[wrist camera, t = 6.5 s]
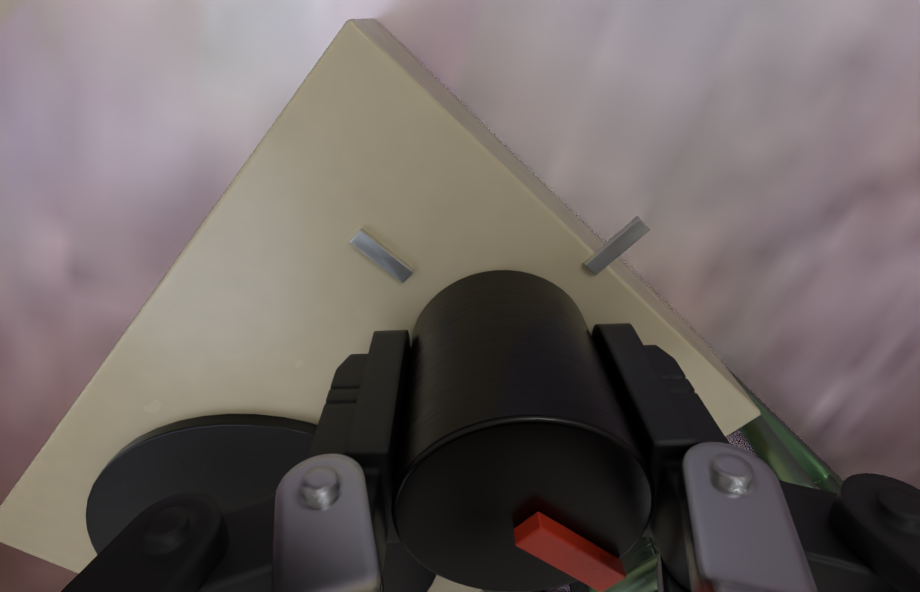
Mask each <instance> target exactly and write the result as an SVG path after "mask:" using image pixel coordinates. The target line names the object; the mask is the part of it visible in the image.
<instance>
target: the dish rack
mask: <svg viewBox="0 0 920 592" xmlns="http://www.w3.org/2000/svg"><path fill="white" fill-rule="evenodd" d="M726 368H727V367H726ZM727 369H728V368H727ZM728 370H729V369H728ZM729 372H730V373H731V374H732V375H733V377H734V378H735V379H736V381H737V382H738V383H739V384H740V386H741V387H742V388H743V390H744V391H745V392H746V393H747V395H748V396H749V397H750V399H751V400H752V401H753V402H754V404H755V405H756V406H757V408H758V409H759V410H760V413H761V414H760V416H758V417H757V418H755V419H753V420H752V421H750V422H749V423H747V424H745V425H744V426H742V427H741V428H739V430H740V431H741V433H742V434H743V435H744V437H745V438H746V440H747V441H748V443H749V444H750V446H751V447H752V448H753V450H754V451H755V453H756V454H757V456H758V457H759V458H760V459H761V460H762V461H764V462H765V463H766V464H767V465H768V466H769V467H770V468H771V469H772V470H773V472H774V473H775V475H776V476H777V478H778V479H779V480H781V481H785V482H788V483H792V484H797V485H801V486H806V487H810V488H815V489H820V490H824V491H829V492H833V493H838V492H839V490H840V488H841V486H842V484H843V482H844V481H843V480H842V479H841V478H840V477H839V476H838V475H837V474H835V473H834V472H833V471H832V470H831V469H830V468H829V467H828V466H827V465H826V464H825V463H824V462H823V461H822V460H821V459H820V458H819V457H818V456H817V455H816V454H815V453H814V452H813V451H812V450H811V449H810V448H809V447H808V446H807V445H806V444H805V443H804V442H803V441H802V440H801V439H800V438H799V437H798V436H796V435H795V434H794V433H793V432H792V431H791V430H790V429H789V428H788V427H787V426H786V425H785V424H784V423H783V422H782V421H781V420H780V419H779V418H778V417H777V416H776V415H775V414H774V413H773V412H772V411H771V410H770V409H769V408H768V407H767V406H766V405H765V404H764V403H763V402H762V401H761V400H760V399H759V398H757V397H756V396H755V395H754V394H753V393H752V392H751V391H750V390H749V389H748V388H747V387H746V386H745V385H744V384H743V383H742V382H741V381H740V380H739V379H738V378H737V377H736V376H735V375H734V374H733V373H732V372H731V371H730V370H729ZM658 555H659V553H657V554H656V555H654V556H652V557H650V558H649V559H647V560H645V561H643V562H642V563H640V564H638V565H636V566H634V567H633V568H631V569H629V570H627V571H626V572H625V573H626V578H624V579H623V580H621V581H619V582H618V583H616V584H614V585H613V586H611V587H609V588H608V589H606V590H604V591H603V592H654V591H656V590H657V577H656V563H657V559H658ZM588 587H589V592H599V591H598V590H596V589H594V588H592V587H590V586H588ZM482 591H484V592H500V591H490V590H482ZM527 592H544V591H542V590H538V591H527Z"/></svg>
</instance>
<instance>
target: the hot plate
mask: <svg viewBox="0 0 920 592" xmlns="http://www.w3.org/2000/svg"><path fill="white" fill-rule="evenodd" d="M649 230H650V229H649V228H648V227H647V226H646V225H645V223H644V222H643V221H642V220H641V219H640V218H639V217H638V216H636V217H635V218H634V219H633V220H632V221H631V222H629V223H628V224H627V225H626V226H625V227H624V228H622V229H621V230H620V231H619V232H618V233H617V234H616V235H614V236H613V237H612V238H611V239H610V240H609V241H608V242H606V243H604V242H603V241H602V240H601V239H600V238H599V237H598V236H597V235H596V234H595V233H594V232H593V231H592V230H591V229H590V228H589V227H588V226H587V225H585V224H584V223H583V222H582V221H581V220H580V219H579V218H578V217H577V216H576V215H575V214H574V213H573V212H572V211H571V210H570V209H569V208H568V207H567V206H566V205H565V204H564V203H563V202H562V201H561V200H560V199H559V198H558V197H557V196H556V195H555V194H554V193H553V192H552V191H551V190H550V189H549V188H548V187H547V186H546V185H545V184H544V183H543V182H542V181H541V180H540V179H539V178H538V177H537V176H535V175H534V174H533V173H532V172H531V171H530V170H529V169H528V168H527V167H526V166H525V165H524V164H523V163H522V162H521V161H520V160H519V159H518V158H517V157H516V156H515V155H514V154H513V153H512V152H511V151H510V150H509V149H508V148H507V147H506V146H505V145H504V144H503V143H502V142H501V141H500V140H499V139H498V138H497V137H496V136H495V135H494V134H493V133H492V132H491V131H490V130H489V129H488V128H486V127H485V126H484V125H483V124H482V123H481V122H480V121H479V120H478V119H477V118H476V117H475V116H474V115H473V114H472V113H471V112H470V111H469V110H468V109H467V108H466V107H465V106H464V105H463V104H462V103H461V102H460V101H459V100H458V99H457V98H456V97H455V96H454V95H453V94H452V93H451V92H450V91H449V90H448V89H447V88H446V87H445V86H444V85H443V84H442V83H441V82H440V81H439V80H438V79H436V78H435V77H434V76H433V75H432V74H431V73H430V72H429V71H428V70H427V69H426V68H425V67H424V66H423V65H422V64H421V63H420V62H419V61H418V60H417V59H416V58H415V57H414V56H413V55H412V54H411V53H410V52H409V51H408V50H407V49H406V48H405V47H404V46H403V45H402V44H401V43H400V42H399V41H398V40H397V39H396V38H395V37H394V36H393V35H392V34H391V33H390V32H389V31H388V30H386V29H385V28H384V27H383V26H382V25H381V24H380V23H379V22H378V21H377V20H376V19H374V18H371V19H350V20H348V21H346V23H345V24H344V25H343V27H342V28H341V30H340V31H339V32H338V34H337V35H336V37H335V38H334V39H333V41H332V42H331V44H330V45H329V46H328V48H327V49H326V51H325V52H324V53H323V55H322V56H321V58H320V59H319V60H318V62H317V63H316V65H315V66H314V67H313V69H312V70H311V72H310V73H309V74H308V76H307V77H306V79H305V80H304V81H303V83H302V84H301V86H300V87H299V88H298V90H297V91H296V93H295V94H294V95H293V97H292V98H291V100H290V101H289V102H288V104H287V105H286V107H285V108H284V109H283V111H282V112H281V114H280V115H279V116H278V118H277V119H276V121H275V122H274V123H273V125H272V126H271V128H270V129H269V130H268V132H267V133H266V135H265V136H264V137H263V139H262V140H261V142H260V143H259V144H258V146H257V147H256V149H255V150H254V151H253V153H252V154H251V156H250V157H249V158H248V160H247V161H246V163H245V164H244V165H243V167H242V168H241V170H240V171H239V172H238V174H237V175H236V177H235V178H234V179H233V181H232V182H231V184H230V185H229V186H228V188H227V189H226V191H225V192H224V193H223V195H222V196H221V198H220V199H219V200H218V202H217V203H216V205H215V206H214V207H213V209H212V210H211V212H210V213H209V214H208V216H207V217H206V219H205V220H204V221H203V223H202V224H201V226H200V227H199V228H198V230H197V231H196V233H195V234H194V235H193V237H192V238H191V240H190V241H189V242H188V244H187V245H186V247H185V248H184V249H183V251H182V252H181V254H180V255H179V256H178V258H177V259H176V261H175V262H174V263H173V265H172V266H171V268H170V269H169V270H168V272H167V273H166V275H165V276H164V277H163V279H162V280H161V282H160V283H159V284H158V286H157V287H156V289H155V290H154V291H153V293H152V294H151V296H150V297H149V298H148V300H147V301H146V303H145V304H144V305H143V307H142V308H141V310H140V311H139V312H138V314H137V315H136V317H135V318H134V319H133V321H132V322H131V324H130V325H129V326H128V328H127V329H126V331H125V332H124V333H123V335H122V336H121V338H120V339H119V340H118V342H117V343H116V345H115V346H114V347H113V349H112V350H111V352H110V353H109V354H108V356H107V357H106V359H105V360H104V361H103V363H102V364H101V366H100V367H99V368H98V370H97V371H96V373H95V374H94V375H93V377H92V378H91V380H90V381H89V382H88V384H87V385H86V387H85V388H84V389H83V391H82V392H81V394H80V395H79V396H78V398H77V399H76V401H75V402H74V403H73V405H72V406H71V408H70V409H69V410H68V412H67V413H66V415H65V416H64V417H63V419H62V420H61V422H60V423H59V424H58V426H57V427H56V429H55V430H54V431H53V433H52V434H51V436H50V437H49V438H48V440H47V441H46V443H45V444H44V445H43V447H42V448H41V450H40V451H39V452H38V454H37V455H36V457H35V458H34V459H33V461H32V462H31V464H30V465H29V466H28V468H27V469H26V471H25V472H24V473H23V475H22V476H21V478H20V479H19V480H18V482H17V483H16V485H15V486H14V487H13V489H12V490H11V492H10V493H9V494H8V496H7V497H6V499H5V500H4V501H3V503H2V504H1V506H0V542H1V543H4V544H6V545H8V546H11V547H13V548H16V549H18V550H21V551H23V552H26V553H28V554H31V555H33V556H36V557H38V558H41V559H43V560H46V561H48V562H51V563H53V564H56V565H58V566H61V567H63V568H66V569H68V570H71V571H73V572H76V573H78V574H79V573H80V572H81V571H82V570H83V569H84V568H85V567H86V566H87V565H88V564H89V563H90V562H91V561H92V560H93V559H94V558H95V557H96V556H97V553H96V551H95V550H94V548H93V546H92V544H91V541H90V537H89V534H88V531H87V525H86V507H87V499H88V496H89V494H90V491H91V488H92V485H93V483H94V482H95V480H96V479H97V477H98V476H99V474H100V473H101V471H102V470H103V469H104V467H105V466H106V465H107V463H108V462H109V461H110V460H111V459H112V458H113V457H114V456H115V455H116V454H117V453H118V452H119V451H120V450H121V449H122V448H123V447H125V446H126V445H128V444H129V443H131V442H132V441H134V440H135V439H136V438H138V437H140V436H142V435H144V434H146V433H148V432H150V431H152V430H154V429H156V428H159V427H162V426H165V425H168V424H171V423H174V422H177V421H180V420H185V419H190V418H195V417H200V416H208V415H219V414H261V415H270V416H280V417H286V418H291V419H296V420H300V421H305V422H310V423H313V424H316V425H318V422H319V419H320V416H321V413H322V410H323V407H324V404H326V398H327V395H328V392H329V390H330V389H331V383H332V380H333V377H334V374H335V371H336V369H337V368H338V367H339V366H340V365H341V364H342V363H343V362H344V361H345V359H346V358H347V357H348V356H349V355H350V354H368V353H369V349H370V345H371V341H372V337H373V333H374V331H384V330H408V332H409V339H410V349H411V343H412V336H413V332H414V328H415V325H416V322H417V320H418V318H419V316H420V314H421V313H422V311H423V309H424V308H425V307H426V305H427V304H428V303H429V302H430V300H431V299H432V298H434V297H435V296H436V295H437V294H438V293H439V292H440V291H442V290H443V289H444V288H446V287H447V286H449V285H450V284H452V283H454V282H456V281H458V280H460V279H462V278H465V277H467V276H470V275H473V274H477V273H480V272H486V271H493V270H513V271H521V272H526V273H530V274H533V275H536V276H539V277H542V278H544V279H546V280H548V281H550V282H552V283H554V284H555V285H557V286H558V287H560V288H561V289H562V290H564V291H565V292H566V293H567V294H568V295H569V296H570V297H571V298H572V300H573V301H574V302H575V303H576V305H577V306H578V308H579V310H580V311H581V313H582V315H583V318H584V320H585V322H586V325H587V327H588V329H589V331H590V334H591V336H592V330H593V327H594V325H595V324H614V323H630V324H631V325H632V326H633V328H634V329H635V331H636V333H637V335H638V336H639V338H640V340H641V341H642V343H643V345H657V346H658V347H660V348H661V349H662V350H664V351H665V352H666V353H668V354H669V355H670V356H672V357H673V358H674V359H675V360H676V361H677V363H678V364H679V366H680V368H681V369H682V371H683V372H684V374H685V375H686V379H688V380H689V381H690V383H691V385H692V386H693V388H694V389H695V393H697V394H698V395H699V397H700V398H701V400H702V402H703V403H704V405H705V406H706V408H707V409H708V411H709V412H710V414H711V415H712V417H713V419H714V420H715V422H716V423H717V425H718V426H719V428H720V429H721V431H722V432H723V434H724V436H725V437H726V436H728V435H730V434H731V433H733V432H734V431H736V430H738V429H739V428H741V427H742V426H744V425H745V424H747V423H749V422H750V421H752V420H753V419H755V418H757V417H758V416H760V414H761V413H760V410H759V409H758V408H757V406H756V405H755V404H754V402H753V401H752V400H751V399H750V397H749V396H748V395H747V393H746V392H745V391H744V390H743V388H742V387H741V386H740V384H739V383H738V382H737V381H736V379H735V378H734V377H733V375H732V374H731V373H730V372H729V370H728V369H727V368H726V366H725V365H724V364H723V363H722V361H721V360H720V359H719V357H718V356H717V355H716V354H715V352H714V351H713V350H712V348H711V347H710V346H709V345H708V344H707V343H706V342H705V341H704V340H703V339H702V338H701V337H700V336H699V335H698V334H697V333H696V332H695V331H694V330H693V329H692V328H691V327H690V326H689V325H688V324H687V323H685V322H684V321H683V320H682V319H681V318H680V317H679V316H678V315H677V314H676V313H675V312H674V311H673V310H672V309H671V308H670V307H669V306H668V305H667V304H666V303H665V302H664V301H663V300H662V299H661V298H660V297H659V296H658V295H657V294H656V293H655V292H654V291H653V290H652V289H651V288H650V287H649V286H648V285H647V284H646V283H645V282H644V281H643V280H642V279H641V278H640V277H639V276H638V275H637V274H635V273H634V272H633V271H632V270H631V269H630V268H629V267H628V266H627V265H626V264H625V263H624V262H623V261H622V260H621V259H620V258H619V257H618V256H620V255H621V254H622V253H623V252H624V251H625V250H627V249H628V248H629V247H630V246H631V245H633V244H634V243H635V242H636V241H637V240H638V239H640V238H641V237H642V236H643V235H644V234H645V233H647V232H648V231H649ZM481 591H482V589H477V588H473V587H468V586H464V585H461V584H458V583H455V582H452V581H450V580H447V579H445V578H443V577H440V576H439V575H436V577H435V579H434V582H433V584H432V586H431V587H430V589H429V590H428V591H427V592H481Z"/></svg>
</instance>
